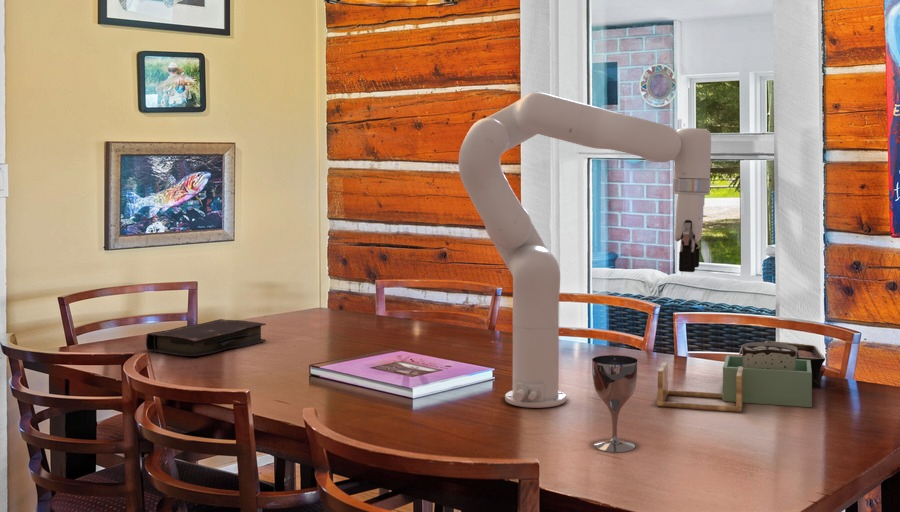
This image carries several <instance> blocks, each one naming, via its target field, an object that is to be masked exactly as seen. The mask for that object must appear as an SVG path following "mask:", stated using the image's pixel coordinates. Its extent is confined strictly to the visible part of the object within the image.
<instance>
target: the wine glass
mask: <svg viewBox="0 0 900 512" xmlns="http://www.w3.org/2000/svg"><path fill="white" fill-rule="evenodd" d="M638 364H639V362H638V359H637V358H635V357H632V356H628V355H618V354H616V355H615V354H609V355H607V354H606V355H597V356H595V357H593V358H592V359H591V372H592V373H591V375H592V382H593V387H594V390H595V393H596V394H597V395H598V397H599V398H600V399H601V401H602V402H603V403H604V404H605V406H606V407H607V408H608V410H609V413H610V417H611V427H612V429H611V430H612V433H611V434H612V436H611V438H610V439H602V440H598V441H596V442H594V444H593V445H594V448H595V449H597V450H598V451H599V450H600V451H603V452H608V453H626V452H630V451H633V450H634V449H635V448H636V445H635V444H634V443H633V442H631V441H628V440H623V439H619V438H618V422H619V420H618V419H619V415H620V412H621V409H622V408H623V407H624V405H625V404H626V403H627V402H628V401H629V400H630V398H631V397H632V396H633V394H634V392H635V390H636V385H637V381H638V380H637V379H638V369H639V365H638Z"/></svg>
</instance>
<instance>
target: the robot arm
mask: <svg viewBox="0 0 900 512" xmlns="http://www.w3.org/2000/svg"><path fill="white" fill-rule="evenodd" d="M537 135H541V136H545V137H549V138H551V139H556V140H559V141H564V142H567V143H571V144H575V145H579V146H583V147H586V148H591V149H597V150H598V149H599V150H610V151H616V152H620V153H624V154H625V153H626V154H630V155H633V156H637V157H641V158H642V159H643V160H645V161H647V162H649V163H667V162H671V161H673V181H672V182H673V184H672V185H673V187H672V188H673V189H672V194H674V195H677V199H676V209H675V224H674V225H675V228H674V241H675V242H680V247H679V252H678V271H679V272H680V273H681V272H682V273H694V272H696V268H699V266H700V240H701V239H702V235H703V224H704V208H705V207H704V206H705V205H704V203H705V202H704V201H705V196H710V195H711V194H710V193H711V192H710V191H711V161H712V160H711V157H712V153H711V152H712V134H711V131H710V130H708V129H706V128H698V127H697V128H696V127H684V128H682V127H681V128H679V129H675V128H673V127H672V126H670V125H666V124H663V123H660V122H656V121H651V120H648V119H644V118H640V117H636V116H632V115H628V114H625V113H624V114H623V113H620V112H616V111H613V110H611V109H605V108H603V107H598V106H595V105H594V106H593V105H590V104H588V103H587V104H586V103H583V102H579V101H575V100H571V99H568V98H564V97H561V96H556V95H553V94H549V93H545V92H538V91H534V92H530V93H528V94H525V95H524V96H523V97H521V98H520V99H517V101H514V102H513V103H511V104H509V105H508V106H506V107H504V108H502V109H501V110H498V111H497V112H495V113H492V114H491V115H489V116H486V117H484V118H481V119H478V120H477V121H476V122H474V123H473V124H472V126H471V127H470V128H469V130H468V132H467V133H466V135H465V137H464V139H463V140H462V141H463V142H462V144H461V146H460V149H459V152H458V153H459V155H458V172H459V176H460V180H461V182H462V185H463V187H464V189H465V192H466V193H467V195H468V196H469V198H470V201H471V202H472V204H473V207H474V208H475V210H476V211H477V213H478V215H479V217H480V218H481V220H482V223H483V224H484V227H485V230H486V233H487V235H488V237H489V239H490V240H491V242H492V244H493V246H494V247H495V250H496V251H497V253H498V254H499V256H500V257H501V259H502V261H503V262H504V264H505V266H506V267H507V270H508V272H510V275H511V276H512V390H509V391H508V392H506V393H505V394H504V400H505V402H506V403H507V404H509V405H511V406H516V407H521V408H531V409H537V408H538V409H540V408H541V409H543V408H544V409H545V408H551V407H557V406H561V405H563V404H564V403H565V402H566V401H567V394H566V393H564V392H563V391H561V390H559V387H560V386H559V376H560V375H559V373H560V372H559V371H560V370H559V368H560V367H559V365H560V364H559V363H560V362H559V360H560V359H559V358H560V357H559V356H560V355H559V354H560V353H559V352H560V351H559V347H560V345H559V342H560V341H559V340H560V339H559V338H560V334H559V333H560V332H559V331H560V330H559V329H560V328H559V327H560V326H559V318H560V317H559V316H560V315H559V311H560V309H559V307H560V288H561V270H560V265H559V262H558V260H557V259H556V257H555V255H554V254H553V253H551V252H550V250H549V249H548V247H547V246H546V245H545V243H544V241H543V239H542V238H541V236H540V234H539V233H538V231H537V229H536V227H535V226H534V224H533V221H532V219H531V216H530V214H529V212H528V211H527V209H526V208H525V207H524V206H523V205H522V203H521V202H520V200H519V199H518V197H517V195H516V193H515V192H514V190H513V188H512V187H511V185H510V183H509V180H508V179H507V177H506V176H505V174H504V172H503V169H502V165H501V157H502V155H503V154H504V153H505V152H507V151H509V150H511V149H513V148H515V147H517V146H519V145H521V144H523V143H525V142H526V141H528V140H529V139H531V138H534V137H535V136H537Z"/></svg>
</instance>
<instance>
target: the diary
mask: <svg viewBox="0 0 900 512" xmlns="http://www.w3.org/2000/svg"><path fill="white" fill-rule="evenodd" d="M266 325H267V323H265V322H256V321H251V320H241V319H223V318H219V319H214V320H211V321H206V322H202V323H195V324H189V325H184V326H178V327H175V328H171V329H166V330H160V331H153V332H148V333H147V334H146V337H145V346H146V351H147V352H154V353H162V354H167V355H168V354H169V355H174V356H183V357H198V356H203V355H209V354H214V353H215V354H216V353H219V352H222V351H225V350H229V349H235V348H243V347H249V346H252V345H256V344H260V343H262V342H266V341H267V339H264V338H262V326H263V327H264V326H266Z"/></svg>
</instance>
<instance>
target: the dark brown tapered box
mask: <svg viewBox="0 0 900 512" xmlns="http://www.w3.org/2000/svg"><path fill="white" fill-rule="evenodd" d="M765 342H772V343H782V344H788V345H792V346H795V347H797V350H798V351H799V356H800V358H798V357H797V358H796V359H801V360H810V361H811V370H812V386H816V387H818V388H821V385H822V384H821V383H822V379H823V377H824V373H825V371H826V367H825V365H824V362H825V361H826V358H825V355H823V354H822V353H821V352H820V350H819V347H817V346H816V345H813V344H807V343H806V344H805V343H797V342H795V343H794V342H788V341H787V342H786V341H774V340H773V341H772V340H765Z"/></svg>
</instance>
